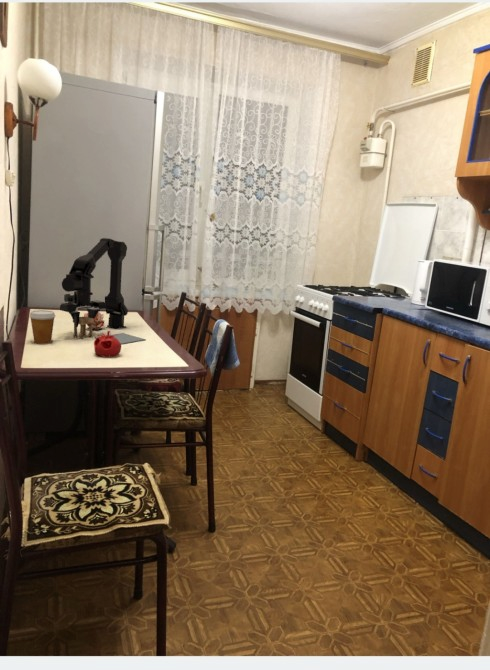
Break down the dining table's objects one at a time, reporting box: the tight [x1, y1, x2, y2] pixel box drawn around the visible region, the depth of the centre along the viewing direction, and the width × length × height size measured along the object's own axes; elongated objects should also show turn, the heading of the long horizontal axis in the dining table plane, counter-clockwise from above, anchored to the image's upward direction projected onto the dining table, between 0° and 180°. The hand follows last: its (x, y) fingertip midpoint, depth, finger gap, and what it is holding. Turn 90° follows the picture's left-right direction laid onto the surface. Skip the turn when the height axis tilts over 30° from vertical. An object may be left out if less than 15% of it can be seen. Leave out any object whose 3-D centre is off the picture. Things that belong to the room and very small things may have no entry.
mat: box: [94, 332, 146, 345], centre depth 216 cm, size 15×15×1 cm
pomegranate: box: [93, 330, 122, 358], centre depth 190 cm, size 10×10×9 cm
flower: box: [83, 311, 105, 330], centre depth 232 cm, size 10×9×8 cm
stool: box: [72, 315, 94, 340], centre depth 215 cm, size 6×6×8 cm
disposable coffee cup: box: [29, 309, 56, 345], centre depth 201 cm, size 10×10×12 cm
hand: (83, 326), depth 215 cm, fingers closed on stool, 6 cm apart
